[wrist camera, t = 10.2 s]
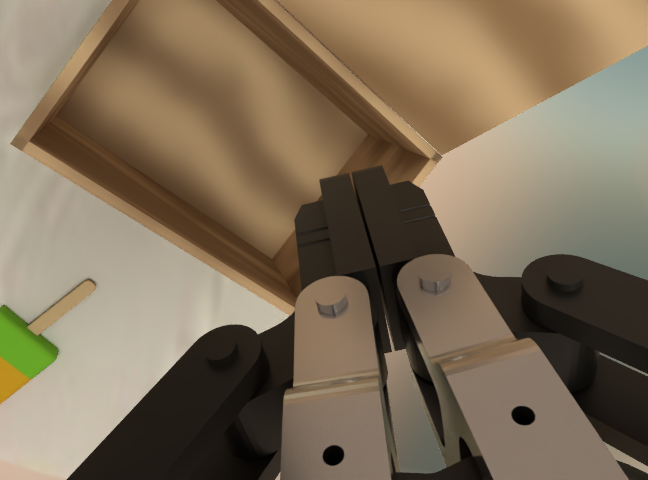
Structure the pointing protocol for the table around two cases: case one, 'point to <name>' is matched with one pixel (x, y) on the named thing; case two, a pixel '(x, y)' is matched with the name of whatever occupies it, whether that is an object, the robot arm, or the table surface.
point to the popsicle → (31, 342)
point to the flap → (472, 53)
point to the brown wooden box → (216, 130)
